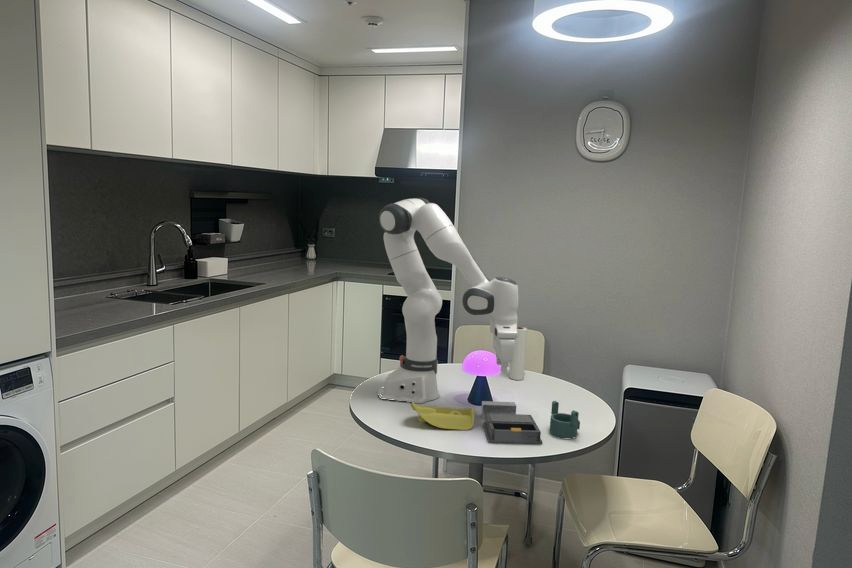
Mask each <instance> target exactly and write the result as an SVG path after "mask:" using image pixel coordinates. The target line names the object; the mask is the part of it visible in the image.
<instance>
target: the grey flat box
mask: <svg viewBox="0 0 852 568" xmlns="http://www.w3.org/2000/svg"><path fill="white" fill-rule="evenodd" d="M484 420H485V421H484V422H482V426H483V427H482V428H483V429H484V433H485V435H486V439H487V442H488V444H489V443H490V444H512V445H514V444H517V445H519V444H520V445H521V444H522V445H543V440H542V438H541V436H542V435H541V434H542V431H541V430H540V429H539V427H538V425H537V423H536V421H535V419H534V417H533V416H532V414H518V413H516V414H488V413H486V415H485V419H484Z"/></svg>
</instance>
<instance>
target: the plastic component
mask: <svg viewBox="0 0 852 568" xmlns="http://www.w3.org/2000/svg"><path fill="white" fill-rule="evenodd" d="M410 407H411V409H412V410H414V411H416V412H417V414H418V423H425V422H428V424H429V425H432V426H433V427H437V428H440V429H446V430H457V431H460V430H461V431H469V430H470V429H472V428H473V426H474V422H475V421H474V420H475V419H474V418H475V417H474V416H475V415H474V414H475V411H474V410H475V409H474V407H472V406H471V407H469V408H453V407H442V406H430V405H429V406H428V405H421V404H420V405H419V404H416V403H414V402H412V403H410Z"/></svg>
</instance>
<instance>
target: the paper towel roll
mask: <svg viewBox="0 0 852 568" xmlns="http://www.w3.org/2000/svg"><path fill="white" fill-rule="evenodd" d="M517 332H518V336H517V338H515V350H514V357H513V361H512V362H509V374H508V375H509V377H508V378H509V379H511V380H514V381H523V380H524V379H525V369H526V367H525V366H526V352H527V335H528V328H527V327H523V326H522V327H521V326H517Z"/></svg>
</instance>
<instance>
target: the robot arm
mask: <svg viewBox="0 0 852 568" xmlns="http://www.w3.org/2000/svg"><path fill="white" fill-rule="evenodd" d="M378 221H379V225H380V228H381V229H382V230H383V232H384V233H383V237H382V238H383V243H384V248H385V251H386V255H387V258H388V261H389V264H390V265H391V268H392V271H393V273H394V276H395V279H396V281H397V282H398V284H400V286H401V287H402V288H403V291H404V292H405V294H406V295H407V297H406V299H405V301H404V302H403V305H402V308H401V311H402V315H403V318H404V325H405V326H404V327H405V332H406V348H405V349H406V350H405V352H406V353H405V355H403V354H402V355H400V356H399V361H400V364H399V367H398V368H395V370H393V371H392V372H390V373H388V375H387V376H386V378H385V380H384V384H383V386H384V388H381V387H380V388H381V389H380V388H379V389H378V391H377V395H378V394H379V396H380V397H381V398H386V399H394V400H401V401H407V402H406V403H410V402H415V404H424V403H426V402H430V401H434V400H436V399H438V398H439V397H440V393H439V389H438V382H437V373H438V365H439V364H438V363H439V361H438V358H437V351H438V349H437V348H438V347H437V346H438V335H437V333H436V322H435V317H436V315H437V314H439V313H440V311H441V309H442V306H443V298H442V295H441V294H440V292H439V291H438V289H437V287H436V286H435V283H434V282H433V280H432V279H431V277H430V274H429V273H428V271H427V269H426V266H425V264H424V262H423V259H422V257H421V254H420V251H419V249H418V247H417V244H416V242H415V241H416V240H415V233H416V232H417V233H419V234H420V235H421V237H422V239H423V240H424V243H425V244H426V246H427V247H428V249H429V250H430V252H431V253H432V254H433V255H434V256H435V257H436V259H439V260H441V261H444V262H448V263H449V264H451V265H454V266H455V267H456V268H457V269H458V270H459V271H460V272H461V274H462V276H463V277H464V279H465V280H466V282H467V283H468V285H469V286H470V287H469V288H468V289H466V291H465V292H464V293H463V295H462V301H461V304H462V306H463V309H464V310H465V311H466V312H467V313H468V314H469V315H473V316H483V315H489V316H490V319H489V333H491V334H493V335H492V347H493V350H494V351H495V357H496V360H495V361H496V365H498V366H500V372H501V374H507V372H508V366H509V363H510V362H512V361H513V357H514V350H515V338H517V336H518V332H517V327H518V321H519V320H518V319H519V318H518V313H517V312H518V311H517V310H518V308H519V297H520V296H519V286H518V283H517V282H516V281H515V280H514V279H511V278H507V277H501V276H498V277H496V276H495V277H494V278H493V279H492V280H491V279H489V278H488V277H487V275H486V274H485V273H484V271H483V270H482V268H481V267H480V265H479V264H478V263H477V260H476V259H475V258H474V257H473V255H472V254H471V253H470V251H469V249H468V248H467V246H466V244H465V243H464V242H463V239H462V238H461V236H460V235H459V233H458V230H457V229H456V227H455V226H454V224H453V222H452V221H451V219H450V218H449V216H447V214H446V212H445V211H443V209H442V208H441V207H440V206H439V205H438V204H436V203H434V202H430V201H429V200H428V199H426V198H423V197H414V198H407V199H402V200H399V201H396V202H394V203H393V202H392V203H389V204H387V205H385V206H384V207H383V208H381V209H380V211H379V214H378ZM380 394H381V395H382V396H381V395H380Z"/></svg>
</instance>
